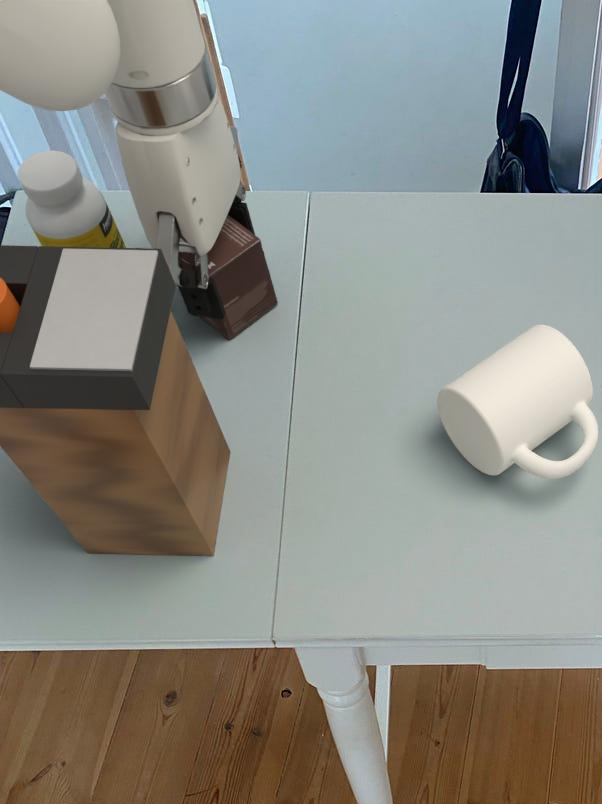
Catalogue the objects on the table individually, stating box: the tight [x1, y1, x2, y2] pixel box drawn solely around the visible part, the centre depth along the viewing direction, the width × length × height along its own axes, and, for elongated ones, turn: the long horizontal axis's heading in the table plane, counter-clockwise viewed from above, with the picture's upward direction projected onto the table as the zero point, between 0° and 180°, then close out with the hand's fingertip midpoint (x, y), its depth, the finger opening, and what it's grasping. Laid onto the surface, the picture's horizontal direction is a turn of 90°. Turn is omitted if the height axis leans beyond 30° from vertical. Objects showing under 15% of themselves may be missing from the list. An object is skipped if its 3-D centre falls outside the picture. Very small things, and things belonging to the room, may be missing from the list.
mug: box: [436, 324, 599, 480], centre depth 70 cm, size 12×10×8 cm
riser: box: [0, 310, 231, 557], centre depth 63 cm, size 10×10×18 cm
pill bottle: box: [17, 150, 127, 248], centre depth 75 cm, size 6×6×12 cm
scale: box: [0, 244, 177, 410], centre depth 53 cm, size 12×10×3 cm
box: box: [180, 215, 279, 340], centre depth 76 cm, size 6×6×7 cm
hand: (223, 276), depth 77 cm, fingers closed on box, 8 cm apart
